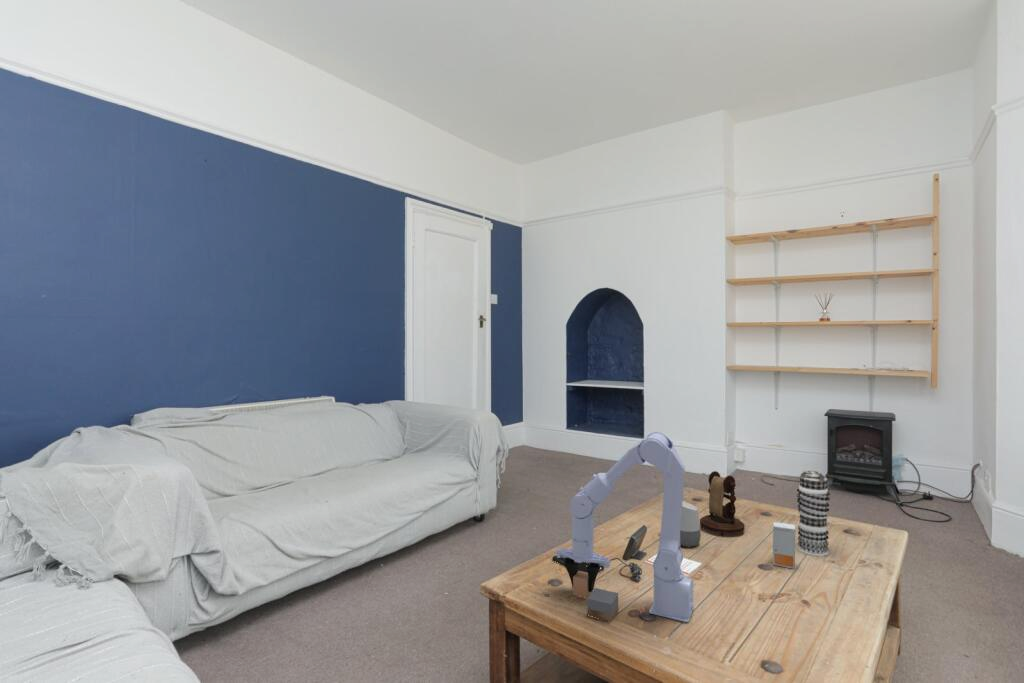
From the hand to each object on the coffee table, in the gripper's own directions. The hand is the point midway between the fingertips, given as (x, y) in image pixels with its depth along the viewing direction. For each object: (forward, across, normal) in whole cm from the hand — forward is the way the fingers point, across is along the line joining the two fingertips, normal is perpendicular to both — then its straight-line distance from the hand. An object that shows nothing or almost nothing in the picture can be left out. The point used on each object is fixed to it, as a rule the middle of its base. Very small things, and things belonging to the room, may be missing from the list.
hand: (582, 588), depth 141 cm
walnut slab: (+2, +8, -7) cm, 11 cm away
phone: (+2, -8, +16) cm, 18 cm away
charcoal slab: (-1, +8, -7) cm, 11 cm away
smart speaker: (+2, +18, +48) cm, 51 cm away
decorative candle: (+2, +55, +61) cm, 82 cm away
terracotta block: (+1, 0, 0) cm, 1 cm away
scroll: (+2, +27, +67) cm, 72 cm away
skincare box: (+2, +47, +45) cm, 65 cm away
